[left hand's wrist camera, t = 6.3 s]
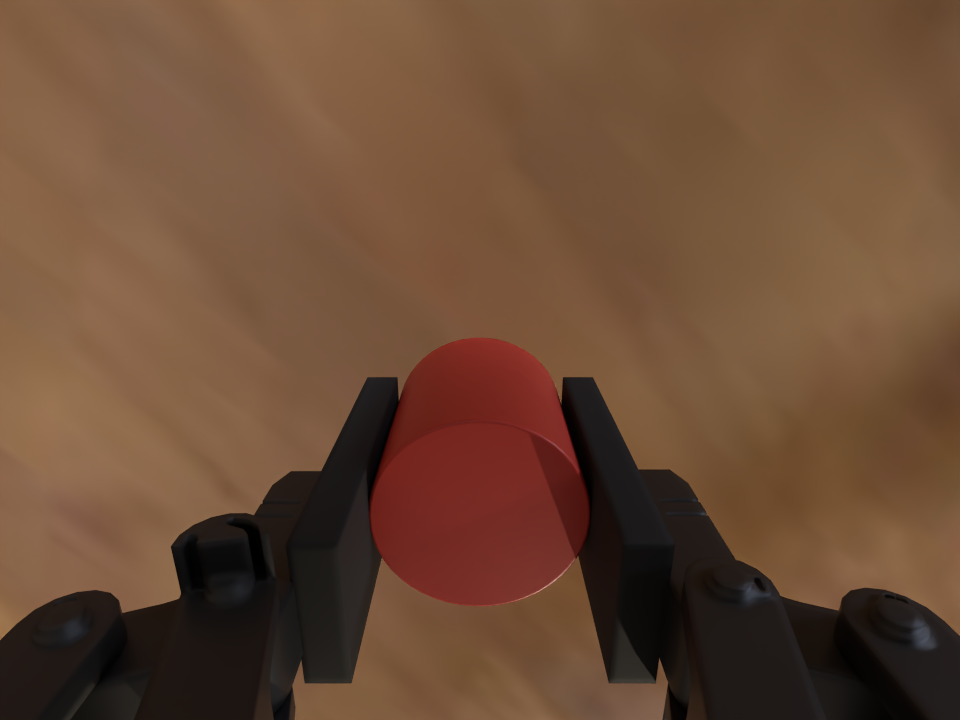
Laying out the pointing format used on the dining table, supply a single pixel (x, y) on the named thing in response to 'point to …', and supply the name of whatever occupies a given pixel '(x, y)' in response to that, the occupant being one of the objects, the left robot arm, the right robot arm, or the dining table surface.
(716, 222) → the dining table surface
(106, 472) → the dining table surface
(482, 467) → the canister
